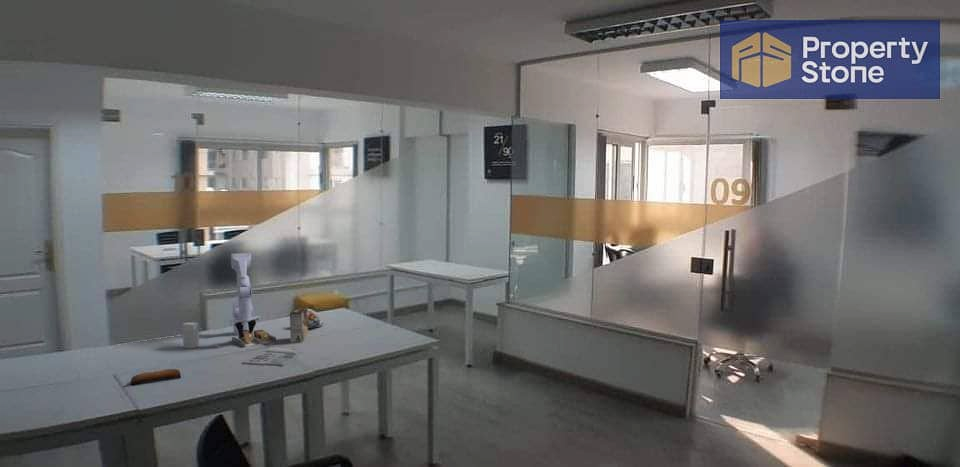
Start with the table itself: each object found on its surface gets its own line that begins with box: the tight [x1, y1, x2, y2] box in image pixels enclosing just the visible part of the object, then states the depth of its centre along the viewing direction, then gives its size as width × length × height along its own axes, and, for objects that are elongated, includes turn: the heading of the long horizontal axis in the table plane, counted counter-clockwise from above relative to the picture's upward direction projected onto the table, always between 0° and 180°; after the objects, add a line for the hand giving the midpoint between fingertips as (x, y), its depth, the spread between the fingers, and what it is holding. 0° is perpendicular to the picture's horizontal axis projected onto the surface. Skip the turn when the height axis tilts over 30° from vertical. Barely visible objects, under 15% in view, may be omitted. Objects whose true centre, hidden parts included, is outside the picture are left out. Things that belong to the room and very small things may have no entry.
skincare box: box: [182, 321, 200, 349], centre depth 281 cm, size 6×4×12 cm
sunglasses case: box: [130, 368, 182, 386], centre depth 235 cm, size 18×7×7 cm
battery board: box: [231, 333, 277, 348], centre depth 291 cm, size 15×16×3 cm
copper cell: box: [237, 330, 254, 342], centre depth 287 cm, size 10×4×4 cm, turn 45°
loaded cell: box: [253, 329, 270, 342], centre depth 293 cm, size 10×4×4 cm, turn 45°
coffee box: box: [289, 308, 309, 343], centre depth 293 cm, size 9×6×16 cm
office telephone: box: [242, 347, 303, 367], centre depth 266 cm, size 23×3×20 cm
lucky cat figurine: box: [306, 308, 324, 329], centre depth 320 cm, size 15×12×14 cm
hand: (245, 336), depth 288 cm, fingers closed on copper cell, 4 cm apart
